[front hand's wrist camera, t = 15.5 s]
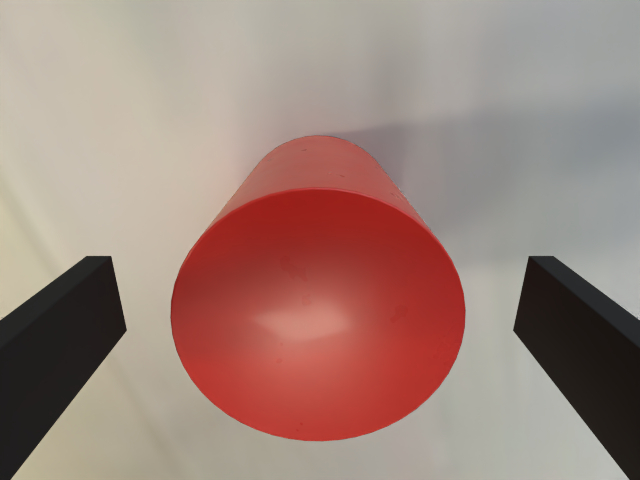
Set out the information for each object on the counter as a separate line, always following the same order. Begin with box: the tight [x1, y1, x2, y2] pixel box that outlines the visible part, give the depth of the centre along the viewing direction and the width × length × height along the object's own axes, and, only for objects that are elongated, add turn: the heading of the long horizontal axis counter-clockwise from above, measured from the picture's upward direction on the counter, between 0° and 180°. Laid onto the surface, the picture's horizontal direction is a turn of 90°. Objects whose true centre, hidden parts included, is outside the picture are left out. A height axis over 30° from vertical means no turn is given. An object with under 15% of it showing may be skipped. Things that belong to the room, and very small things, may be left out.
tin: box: [171, 136, 465, 441], centre depth 16 cm, size 8×8×11 cm
